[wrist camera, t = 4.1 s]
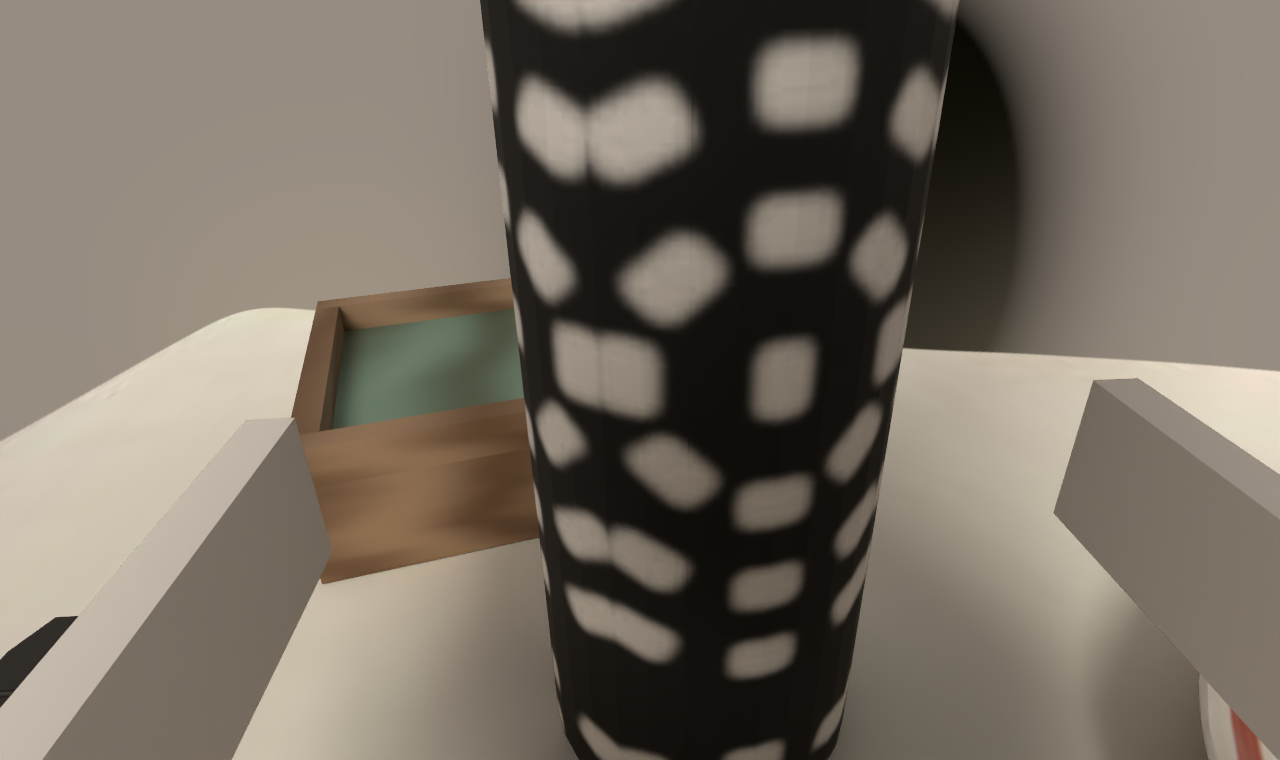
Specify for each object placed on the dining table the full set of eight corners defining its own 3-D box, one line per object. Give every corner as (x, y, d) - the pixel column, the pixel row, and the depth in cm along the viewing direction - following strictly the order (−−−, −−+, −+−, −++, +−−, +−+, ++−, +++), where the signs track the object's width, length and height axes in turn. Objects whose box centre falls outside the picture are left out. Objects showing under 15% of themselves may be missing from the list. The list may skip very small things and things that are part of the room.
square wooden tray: (603, 360, 41) (599, 267, 38) (693, 503, 29) (695, 382, 26) (342, 401, 37) (318, 301, 35) (322, 584, 25) (282, 453, 23)
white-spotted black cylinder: (541, 607, 24) (459, -110, 15) (773, 562, 26) (829, -107, 16) (583, 861, 17) (472, -223, 8) (900, 777, 19) (1127, -198, 9)
